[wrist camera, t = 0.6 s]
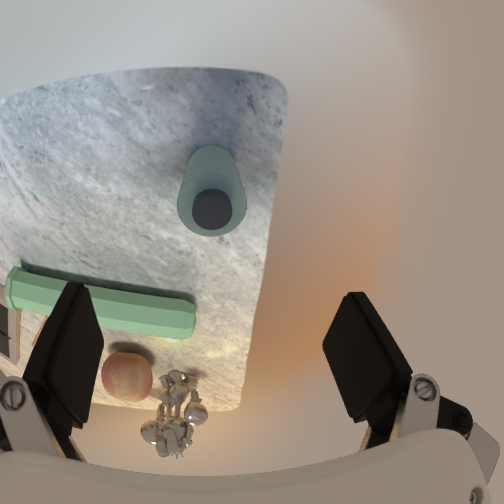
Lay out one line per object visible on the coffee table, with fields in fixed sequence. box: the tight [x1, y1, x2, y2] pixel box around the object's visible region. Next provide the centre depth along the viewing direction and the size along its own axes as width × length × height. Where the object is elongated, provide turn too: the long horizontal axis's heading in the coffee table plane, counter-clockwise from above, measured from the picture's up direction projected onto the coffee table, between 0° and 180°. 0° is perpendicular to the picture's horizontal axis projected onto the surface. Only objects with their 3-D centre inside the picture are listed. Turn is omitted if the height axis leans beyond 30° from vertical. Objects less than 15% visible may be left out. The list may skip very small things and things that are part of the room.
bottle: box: [177, 145, 247, 237], centre depth 20 cm, size 4×4×10 cm
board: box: [33, 316, 49, 346], centre depth 33 cm, size 6×12×2 cm, turn 131°
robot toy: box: [141, 370, 208, 458], centre depth 36 cm, size 15×6×15 cm, turn 129°
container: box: [4, 266, 196, 339], centre depth 28 cm, size 6×6×25 cm
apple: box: [101, 353, 153, 402], centre depth 34 cm, size 8×8×8 cm
